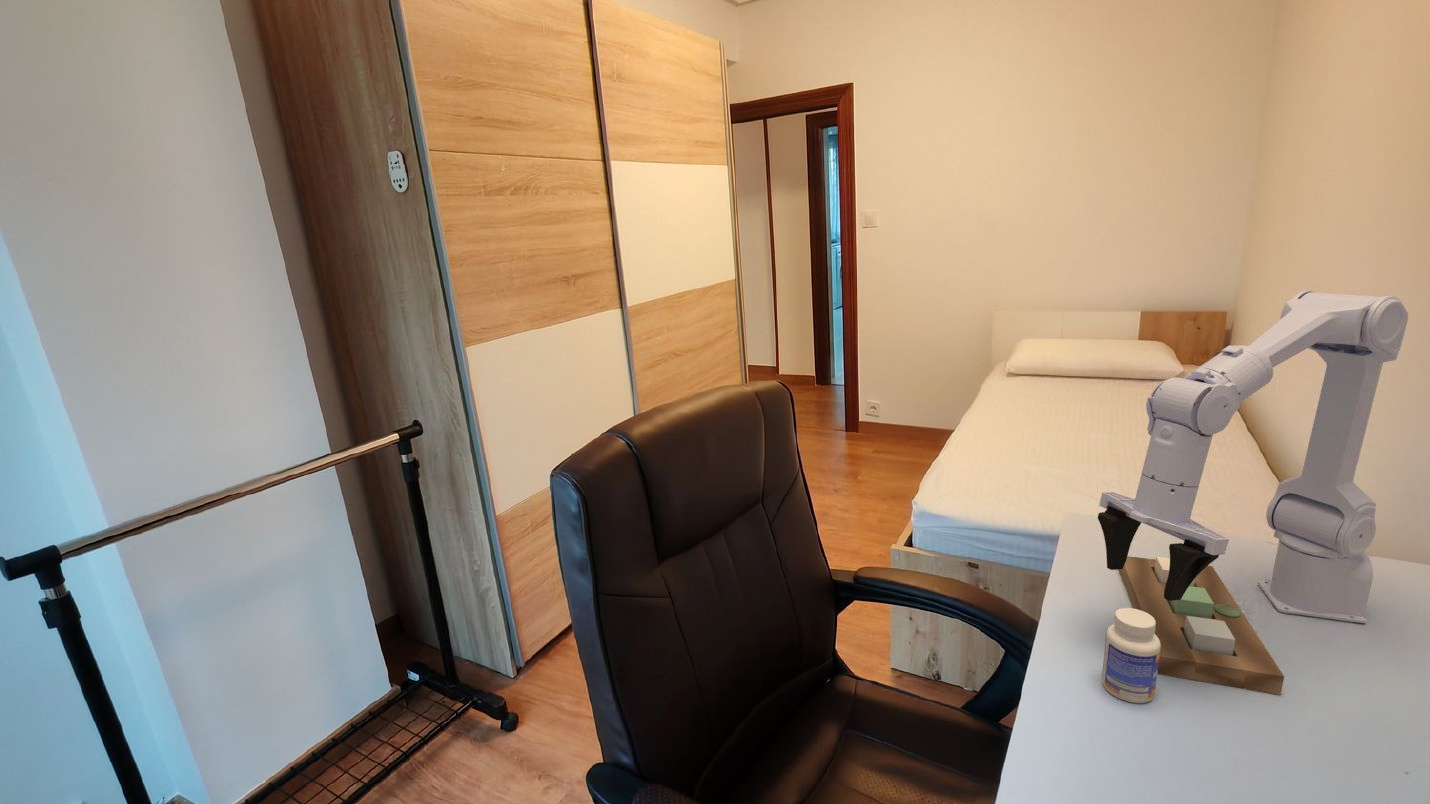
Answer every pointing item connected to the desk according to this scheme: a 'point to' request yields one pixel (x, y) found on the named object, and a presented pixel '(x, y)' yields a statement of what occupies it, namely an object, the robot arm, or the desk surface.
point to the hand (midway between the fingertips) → (1142, 583)
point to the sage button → (1193, 603)
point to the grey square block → (1208, 635)
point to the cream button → (1163, 570)
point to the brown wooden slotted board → (1176, 658)
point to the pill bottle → (1131, 656)
